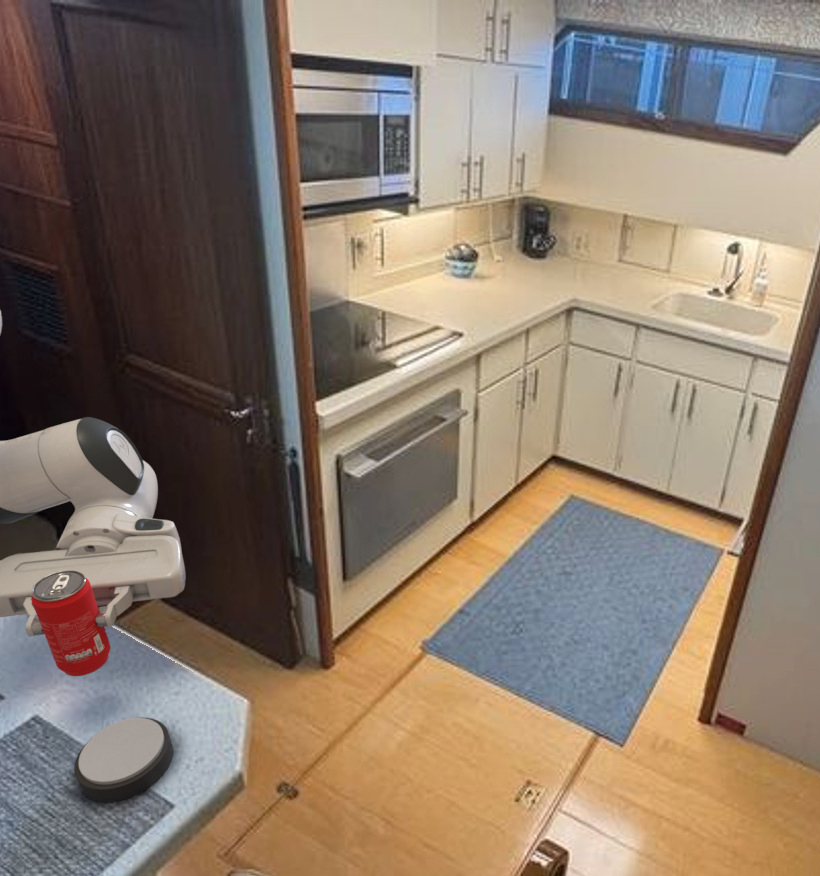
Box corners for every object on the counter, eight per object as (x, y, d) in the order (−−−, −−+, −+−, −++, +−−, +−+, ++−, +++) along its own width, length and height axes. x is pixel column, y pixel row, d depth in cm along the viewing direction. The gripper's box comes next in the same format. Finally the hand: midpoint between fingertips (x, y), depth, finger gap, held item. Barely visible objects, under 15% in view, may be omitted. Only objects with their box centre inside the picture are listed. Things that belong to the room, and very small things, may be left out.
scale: (71, 757, 79) (64, 741, 77) (160, 717, 85) (155, 701, 83) (89, 818, 74) (82, 802, 72) (183, 771, 79) (178, 755, 78)
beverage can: (51, 681, 78) (19, 604, 72) (68, 646, 82) (40, 570, 76) (104, 676, 79) (78, 599, 73) (118, 642, 84) (95, 567, 78)
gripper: (-8, 536, 83) (-58, 620, 72) (187, 519, 90) (169, 594, 79) (8, 576, 86) (-38, 662, 75) (195, 557, 93) (178, 633, 82)
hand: (70, 627), depth 77 cm, fingers closed on beverage can, 5 cm apart
